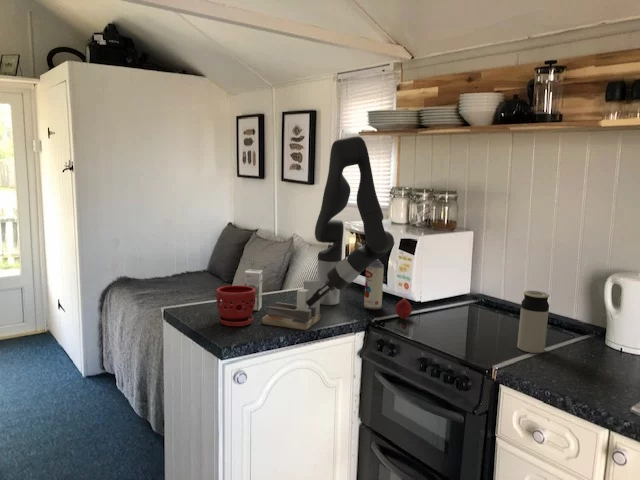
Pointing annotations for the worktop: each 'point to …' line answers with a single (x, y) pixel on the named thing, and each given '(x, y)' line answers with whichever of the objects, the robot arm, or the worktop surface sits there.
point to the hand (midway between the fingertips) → (308, 304)
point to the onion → (403, 308)
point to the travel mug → (533, 322)
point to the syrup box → (255, 285)
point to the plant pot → (236, 305)
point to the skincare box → (312, 290)
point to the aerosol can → (374, 285)
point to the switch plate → (290, 316)
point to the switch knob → (303, 300)
